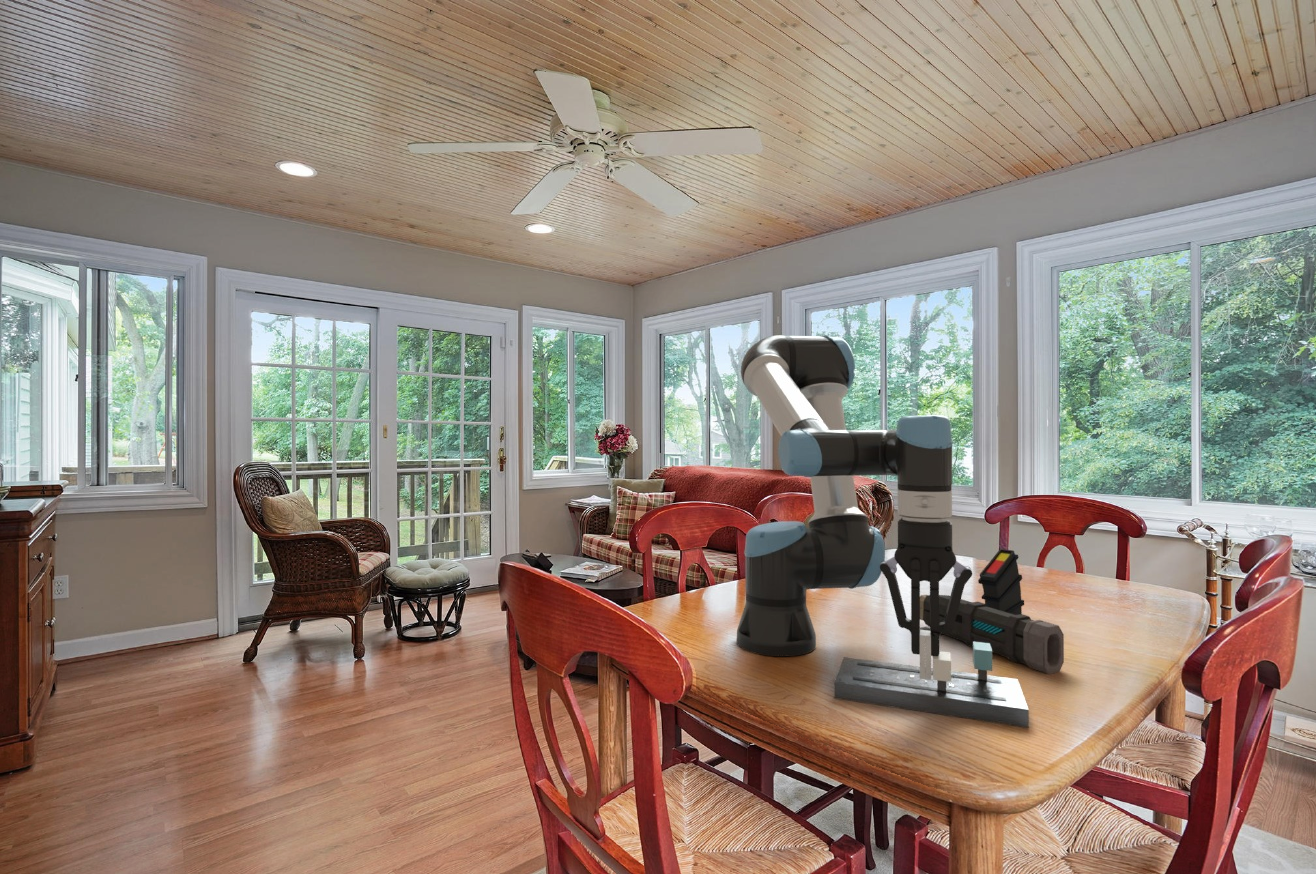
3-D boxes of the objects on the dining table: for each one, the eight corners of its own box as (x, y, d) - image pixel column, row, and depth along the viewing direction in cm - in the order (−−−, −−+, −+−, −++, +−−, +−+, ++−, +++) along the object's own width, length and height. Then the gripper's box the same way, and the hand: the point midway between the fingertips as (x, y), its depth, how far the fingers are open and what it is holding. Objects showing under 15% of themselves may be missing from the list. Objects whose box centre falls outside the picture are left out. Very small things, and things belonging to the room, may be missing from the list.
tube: (941, 637, 135) (1077, 666, 108) (918, 649, 133) (1051, 681, 105) (927, 588, 136) (1059, 604, 108) (903, 599, 133) (1033, 618, 105)
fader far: (974, 682, 96) (974, 649, 96) (972, 673, 100) (972, 641, 100) (992, 684, 95) (992, 651, 95) (990, 675, 99) (989, 643, 99)
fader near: (933, 693, 92) (932, 659, 92) (932, 683, 95) (932, 650, 95) (951, 695, 91) (950, 661, 91) (950, 685, 95) (950, 652, 95)
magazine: (1030, 606, 142) (1016, 550, 138) (1005, 642, 135) (990, 583, 131) (1012, 603, 145) (999, 547, 141) (988, 638, 138) (972, 580, 134)
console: (834, 698, 97) (834, 681, 97) (844, 671, 108) (843, 656, 108) (1028, 727, 87) (1028, 709, 87) (1017, 695, 98) (1017, 678, 98)
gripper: (876, 519, 93) (877, 679, 93) (975, 523, 88) (976, 692, 88) (879, 513, 100) (880, 662, 100) (971, 517, 95) (972, 673, 95)
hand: (925, 676), depth 94 cm, fingers closed
